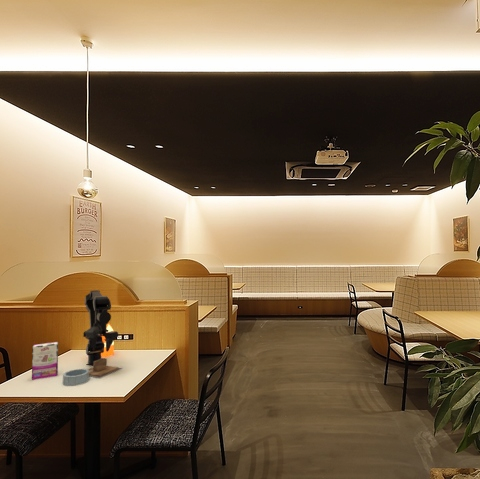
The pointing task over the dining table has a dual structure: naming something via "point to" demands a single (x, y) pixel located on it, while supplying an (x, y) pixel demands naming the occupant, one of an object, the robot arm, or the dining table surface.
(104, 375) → the mat
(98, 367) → the walnut lid
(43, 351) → the candy bar box
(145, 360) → the dining table surface
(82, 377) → the bowl
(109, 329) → the orange juice
